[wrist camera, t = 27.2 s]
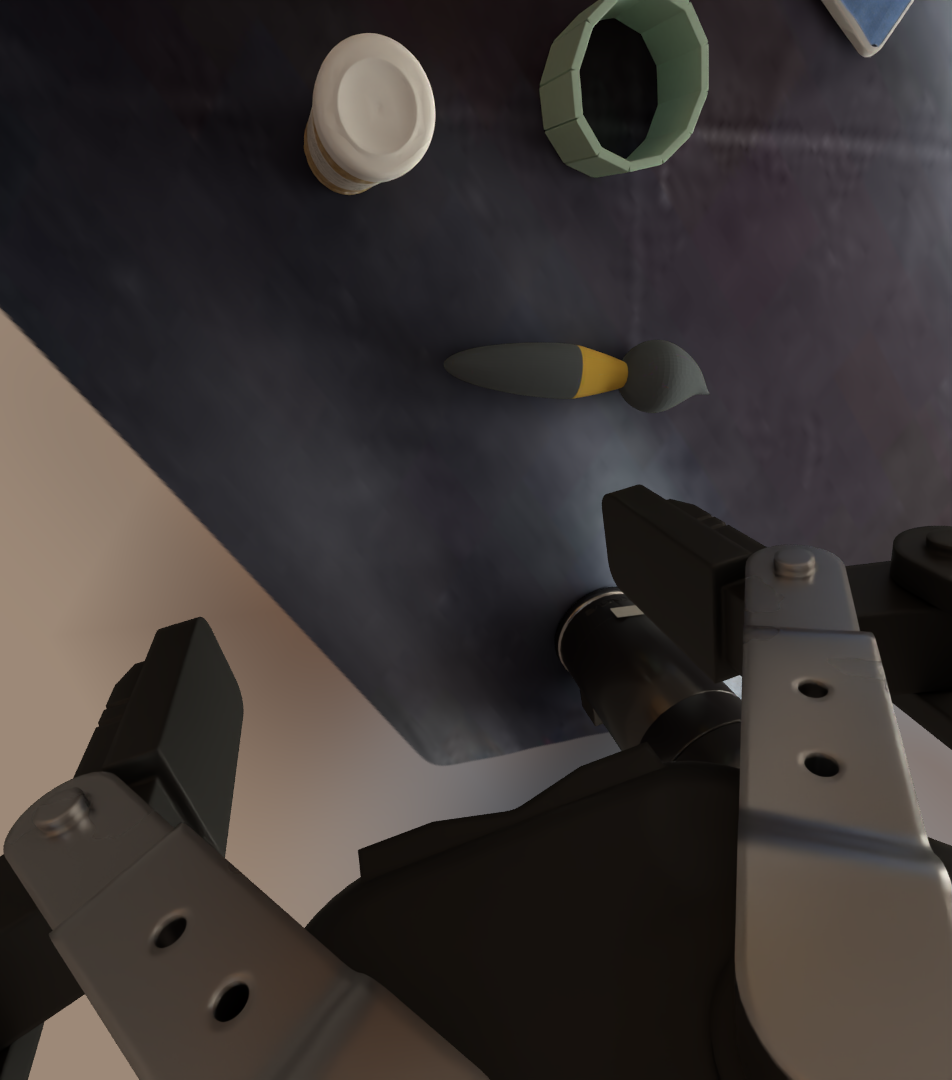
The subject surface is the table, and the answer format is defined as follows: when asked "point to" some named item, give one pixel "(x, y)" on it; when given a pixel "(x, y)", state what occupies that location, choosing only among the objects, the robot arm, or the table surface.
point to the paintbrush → (583, 372)
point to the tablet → (867, 21)
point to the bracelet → (682, 81)
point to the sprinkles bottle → (368, 114)
